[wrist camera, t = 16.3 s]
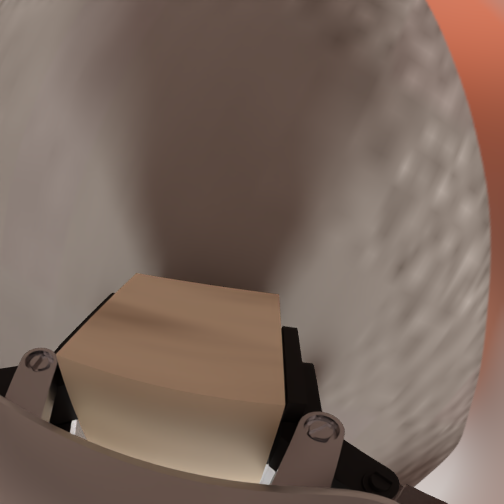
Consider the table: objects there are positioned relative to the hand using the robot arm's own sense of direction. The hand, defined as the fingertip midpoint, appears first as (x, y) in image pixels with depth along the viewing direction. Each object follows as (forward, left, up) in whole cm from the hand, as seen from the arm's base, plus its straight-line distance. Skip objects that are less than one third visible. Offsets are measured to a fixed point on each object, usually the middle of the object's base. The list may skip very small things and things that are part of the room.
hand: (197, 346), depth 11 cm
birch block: (-1, 0, -1) cm, 1 cm away
